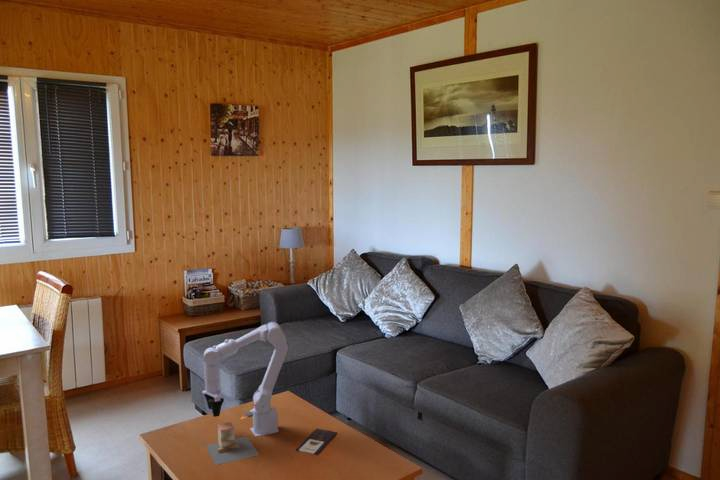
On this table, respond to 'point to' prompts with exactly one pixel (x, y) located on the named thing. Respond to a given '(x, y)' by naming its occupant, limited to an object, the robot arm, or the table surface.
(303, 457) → the table surface
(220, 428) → the birch block
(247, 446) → the rubber mat
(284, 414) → the table surface
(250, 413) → the key chain
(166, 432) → the table surface
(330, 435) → the chocolate bar
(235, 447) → the stop strip
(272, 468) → the table surface
